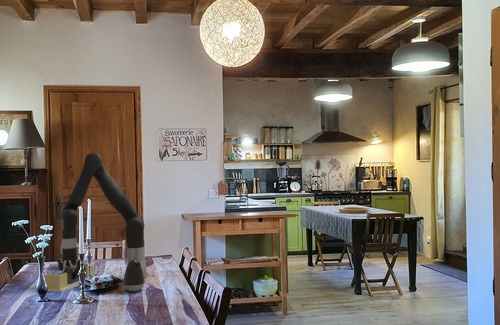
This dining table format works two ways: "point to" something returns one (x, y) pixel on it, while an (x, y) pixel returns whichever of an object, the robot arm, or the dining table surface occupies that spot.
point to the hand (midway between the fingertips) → (70, 278)
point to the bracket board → (63, 280)
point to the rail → (71, 276)
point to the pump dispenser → (134, 276)
